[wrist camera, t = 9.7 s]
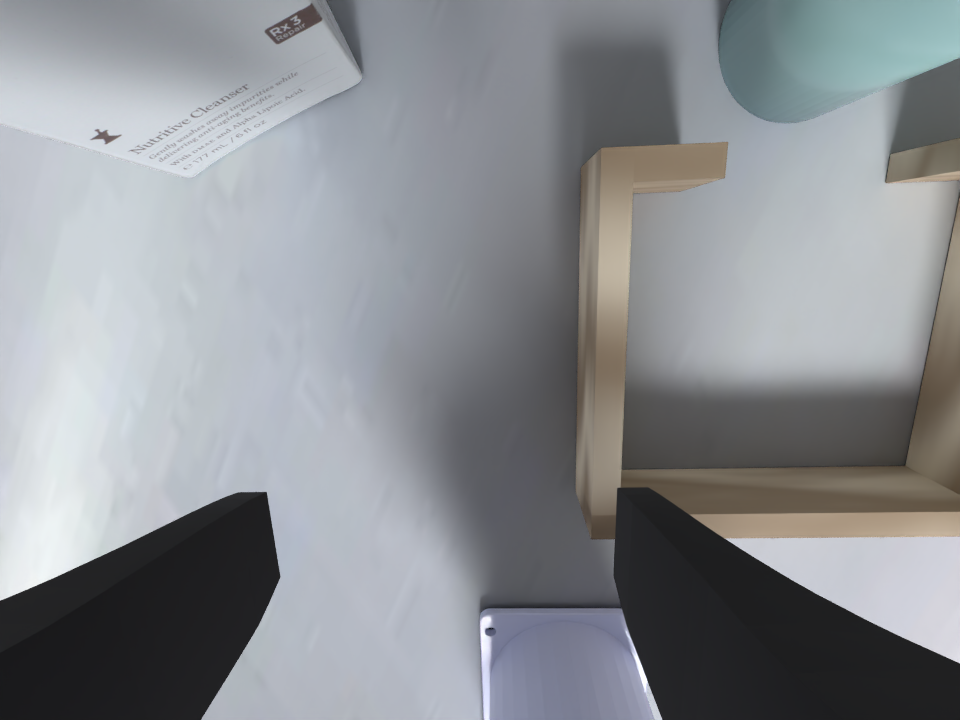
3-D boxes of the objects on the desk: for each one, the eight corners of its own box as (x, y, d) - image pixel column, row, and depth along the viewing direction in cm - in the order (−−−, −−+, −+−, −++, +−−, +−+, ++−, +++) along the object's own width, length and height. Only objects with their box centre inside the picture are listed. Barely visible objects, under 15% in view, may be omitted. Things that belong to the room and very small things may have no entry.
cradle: (925, 486, 20) (1013, 536, 16) (575, 490, 20) (591, 539, 17) (997, 149, 17) (1126, 124, 13) (580, 167, 17) (601, 147, 14)
